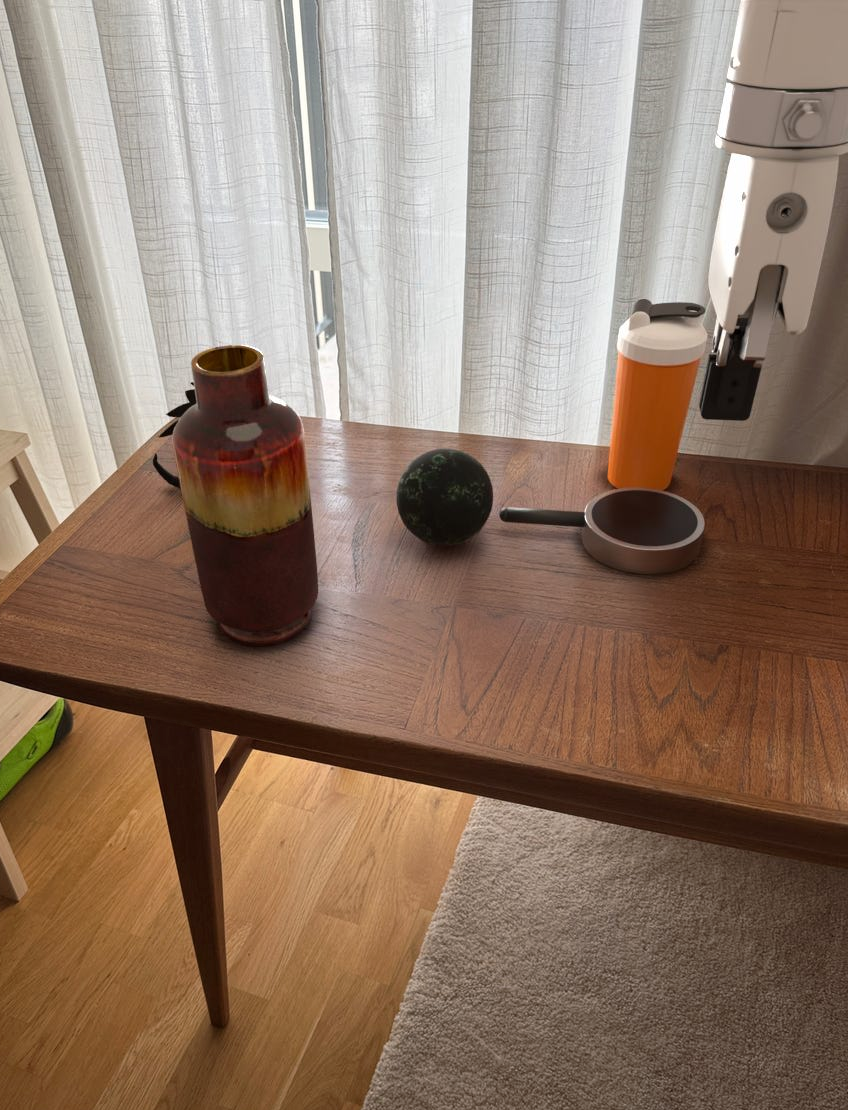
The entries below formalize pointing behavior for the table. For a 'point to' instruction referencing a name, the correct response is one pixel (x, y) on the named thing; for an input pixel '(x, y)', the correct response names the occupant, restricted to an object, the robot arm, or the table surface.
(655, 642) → the table surface
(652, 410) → the shaker bottle
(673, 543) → the pan
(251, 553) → the vase
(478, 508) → the decorative stone
